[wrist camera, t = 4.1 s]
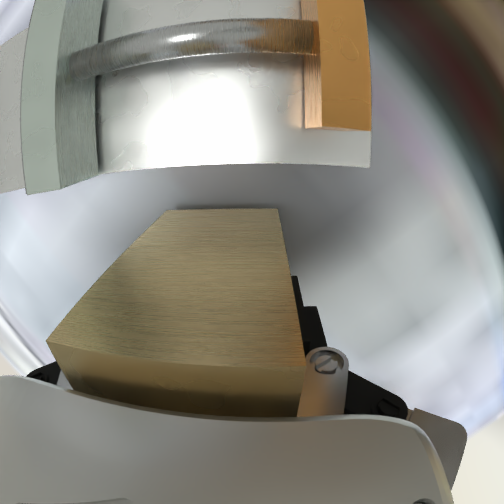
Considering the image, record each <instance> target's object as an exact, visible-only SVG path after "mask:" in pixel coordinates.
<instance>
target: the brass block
mask: <svg viewBox="0 0 504 504" xmlns="http://www.w3.org/2000/svg"><path fill="white" fill-rule="evenodd" d="M46 342H47V344H48V346H49V348H50V350H51V352H52V354H53V356H54V358H55V359H56V361H57V363H58V365H59V367H60V368H61V370H62V372H63V373H64V375H65V377H66V379H67V380H68V382H69V383H70V385H71V387H72V388H73V390H75V391H78V392H82V393H85V394H89V395H93V396H97V397H101V398H105V399H109V400H114V401H118V402H123V403H128V404H133V405H138V406H144V407H149V408H156V409H162V410H169V411H177V412H185V413H194V414H205V415H217V416H234V417H297V413H298V408H299V403H300V398H301V392H302V387H303V382H304V376H305V371H306V361H305V355H304V349H303V342H302V336H301V330H300V325H299V319H298V313H297V307H296V302H295V296H294V291H293V285H292V280H291V274H290V269H289V264H288V259H287V253H286V248H285V243H284V238H283V233H282V228H281V223H280V218H279V214H278V209H191V210H167V211H166V212H165V213H164V214H163V215H162V216H160V217H159V218H158V219H157V220H156V221H155V222H154V223H153V224H152V225H151V226H150V227H149V228H148V229H147V230H146V231H145V232H144V233H143V234H142V235H141V236H140V237H139V238H138V239H137V240H136V241H135V242H134V243H132V244H131V245H130V247H129V248H128V249H127V250H126V251H125V252H124V253H123V254H122V255H121V256H120V257H119V258H118V259H117V260H116V261H115V262H114V263H113V264H112V265H111V266H110V267H109V268H108V269H107V270H106V271H105V272H104V273H103V275H102V276H101V277H100V278H99V279H98V280H97V281H96V282H95V283H94V284H93V285H92V287H91V288H90V289H89V290H88V291H87V292H86V293H85V294H84V295H83V297H82V298H81V299H80V300H79V301H78V302H77V303H76V305H75V306H74V307H73V308H72V309H71V310H70V312H69V313H68V314H67V315H66V316H65V318H64V319H63V320H62V321H61V322H60V324H59V325H58V326H57V327H56V329H55V330H54V331H53V332H52V334H51V335H50V336H49V337H48V339H47V340H46Z"/></svg>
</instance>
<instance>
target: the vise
mask: <svg viewBox="0 0 504 504" xmlns="http://www.w3.org/2000/svg"><path fill="white" fill-rule="evenodd" d="M363 1H364V0H363ZM364 8H365V6H364ZM365 15H366V13H365ZM233 18H284V19H300V20H302V12H301V0H103V5H102V11H101V18H100V26H99V34H98V43H101V42H104V41H107V40H111V39H114V38H117V37H121V36H125V35H128V34H132V33H136V32H140V31H145V30H149V29H154V28H159V27H164V26H170V25H176V24H182V23H189V22H197V21H206V20H217V19H233ZM366 23H367V21H366ZM28 28H29V27H28ZM28 28H27V29H25V30H23V31H22V32H20V33H19V34H17V35H16V36H14V37H13V38H11V39H10V40H8V41H7V42H5V43H4V44H2V45H1V46H0V194H1V193H5V192H9V191H13V190H18V189H22V188H25V182H24V174H23V165H22V153H21V135H20V97H21V80H22V69H23V60H24V52H25V45H26V39H27V34H28ZM367 33H368V30H367ZM368 43H369V40H368ZM369 56H370V53H369ZM370 74H371V69H370ZM371 127H372V97H371ZM95 129H96V147H97V161H98V172H99V175H100V174H107V173H115V172H123V171H132V170H141V169H151V168H163V167H176V166H191V165H211V164H249V163H278V164H315V165H335V166H350V167H363V168H370V157H371V131H336V130H323V129H306V128H305V87H304V54H293V53H226V54H211V55H200V56H191V57H183V58H176V59H169V60H163V61H157V62H152V63H146V64H141V65H137V66H132V67H128V68H123V69H119V70H115V71H112V72H108V73H104V74H101V75H97V76H95Z"/></svg>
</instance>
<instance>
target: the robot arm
mask: <svg viewBox="0 0 504 504" xmlns="http://www.w3.org/2000/svg"><path fill="white" fill-rule="evenodd" d="M291 280H292V285H293V291H294V296H295V302H296V307H297V313H298V319H299V325H300V330H301V336H302V342H303V349H304V355H305V361H306V371H305V376H304V382H303V387H302V392H301V398H300V403H299V408H298V413H297V417H234V416H217V415H205V414H194V413H185V412H177V411H169V410H162V409H156V408H149V407H144V406H138V405H133V404H128V403H123V402H118V401H114V400H109V399H105V398H101V397H97V396H93V395H89V394H85V393H82V392H78V391H75V390H73V388H72V387H71V385H70V383H69V382H68V380H67V379H66V377H65V375H64V373H63V372H62V370H61V368H60V367H59V365H58V363H57V361H55V362H53V363H51V364H48V365H46V366H43V367H41V368H38V369H36V370H34V371H32V372H30V373H29V374H28V375H27V376H26V377H24V376H16V375H6V376H0V504H454V502H453V498H452V494H451V489H452V487H453V484H454V481H455V478H456V475H457V472H458V469H459V466H460V463H461V460H462V456H463V453H464V449H465V445H466V441H467V433H466V430H465V428H464V427H463V426H462V425H461V424H459V423H457V422H454V421H451V420H448V419H445V418H442V417H439V416H436V415H433V414H431V413H428V412H425V411H422V410H420V409H417V408H415V409H414V410H410V409H408V408H407V405H406V403H405V402H404V401H403V400H402V399H401V398H400V397H398V396H397V395H395V394H393V393H391V392H389V391H387V390H385V389H383V388H381V387H379V386H377V385H375V384H373V383H371V382H370V381H368V380H366V379H364V378H362V377H360V376H358V375H356V374H354V373H353V372H351V371H349V370H348V369H349V362H348V359H347V357H346V355H345V354H344V353H342V352H341V351H339V350H337V349H335V348H331V347H327V343H326V339H325V335H324V332H323V328H322V324H321V320H320V317H319V313H318V309H317V307H316V306H306V307H304V306H303V301H302V296H301V292H300V287H299V283H298V278H297V276H291Z"/></svg>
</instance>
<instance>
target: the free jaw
mask: <svg viewBox="0 0 504 504" xmlns="http://www.w3.org/2000/svg"><path fill="white" fill-rule="evenodd" d="M102 5H103V0H35V3H34V6H33V10H32V15H31V19H30V24H29V28H28V34H27V39H26V45H25V52H24V60H23V69H22V80H21V97H20V135H21V153H22V165H23V174H24V182H25V189H26V194H27V195H31V194H36V193H42V192H48V191H54V190H60V189H63V188H65V187H68V186H70V185H73V184H76V183H78V182H81V181H84V180H87V179H89V178H92V177H95V176H98V175H99V172H98V161H97V147H96V129H95V76H97V75H101V74H104V73H108V72H112V71H115V70H119V69H123V68H128V67H132V66H137V65H141V64H146V63H152V62H157V61H163V60H169V59H176V58H183V57H191V56H200V55H211V54H226V53H293V54H304V87H305V128H306V129H323V130H336V131H371V74H370V56H369V43H368V33H367V23H366V15H365V8H364V1H363V0H301V12H302V20H300V19H284V18H233V19H217V20H206V21H197V22H189V23H182V24H176V25H170V26H164V27H159V28H154V29H149V30H145V31H140V32H136V33H132V34H128V35H125V36H121V37H117V38H114V39H111V40H107V41H104V42H101V43H98V34H99V26H100V18H101V11H102Z"/></svg>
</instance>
